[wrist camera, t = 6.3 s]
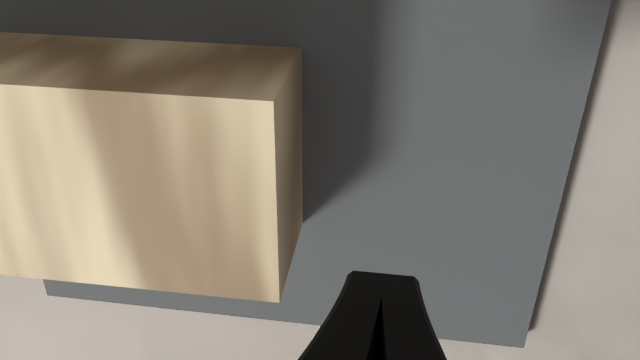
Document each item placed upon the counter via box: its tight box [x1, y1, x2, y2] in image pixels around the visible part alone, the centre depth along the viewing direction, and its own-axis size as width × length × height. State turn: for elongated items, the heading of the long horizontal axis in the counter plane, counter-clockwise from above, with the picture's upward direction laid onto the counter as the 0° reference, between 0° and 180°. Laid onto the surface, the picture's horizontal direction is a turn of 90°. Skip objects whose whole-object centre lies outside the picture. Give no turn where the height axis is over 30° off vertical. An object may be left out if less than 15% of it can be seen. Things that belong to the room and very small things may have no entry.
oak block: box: [0, 32, 303, 303], centre depth 18 cm, size 4×6×10 cm
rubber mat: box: [0, 0, 612, 348], centre depth 19 cm, size 18×15×1 cm
